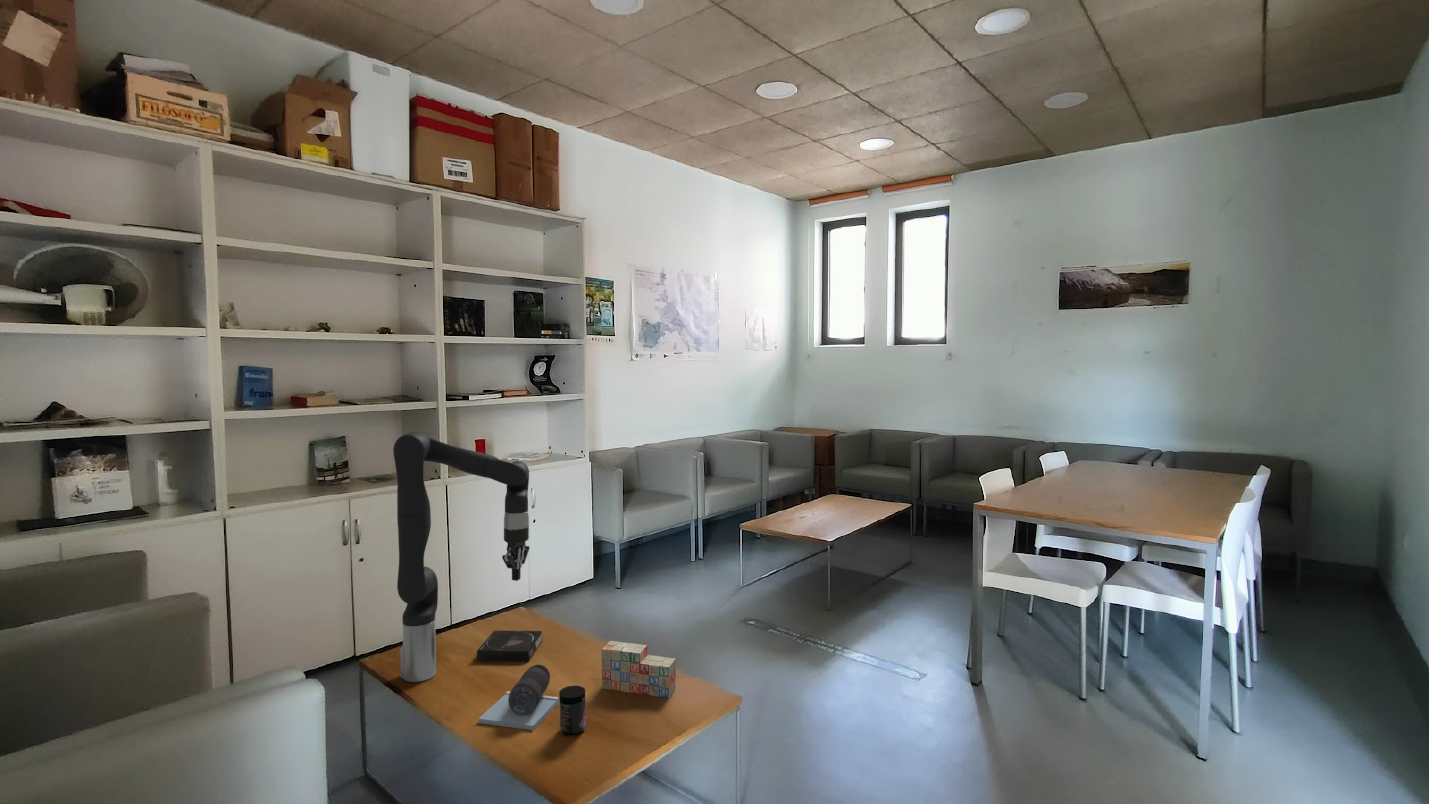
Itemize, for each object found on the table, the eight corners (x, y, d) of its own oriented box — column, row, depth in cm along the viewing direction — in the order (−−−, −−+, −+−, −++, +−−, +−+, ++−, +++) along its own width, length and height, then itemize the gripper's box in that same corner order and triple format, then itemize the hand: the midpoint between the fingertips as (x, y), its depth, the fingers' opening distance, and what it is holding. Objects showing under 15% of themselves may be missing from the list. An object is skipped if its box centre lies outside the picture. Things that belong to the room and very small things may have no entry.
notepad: (478, 723, 179) (478, 717, 179) (507, 696, 194) (507, 691, 194) (533, 730, 176) (533, 724, 176) (558, 702, 191) (558, 697, 190)
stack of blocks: (676, 689, 199) (676, 648, 198) (668, 699, 193) (668, 657, 192) (610, 679, 205) (610, 639, 204) (601, 688, 199) (601, 648, 198)
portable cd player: (529, 663, 217) (529, 651, 217) (477, 662, 217) (476, 650, 217) (543, 642, 233) (543, 631, 233) (494, 641, 233) (494, 630, 233)
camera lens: (548, 692, 196) (531, 719, 181) (522, 684, 196) (503, 710, 181) (556, 667, 195) (540, 692, 180) (529, 658, 195) (511, 682, 181)
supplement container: (579, 738, 172) (579, 699, 172) (555, 735, 173) (554, 696, 173) (589, 724, 179) (589, 686, 178) (565, 722, 180) (565, 684, 180)
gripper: (516, 520, 217) (516, 572, 218) (493, 529, 204) (493, 585, 205) (537, 521, 215) (537, 574, 216) (516, 531, 202) (515, 587, 203)
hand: (516, 579), depth 211 cm, fingers closed
